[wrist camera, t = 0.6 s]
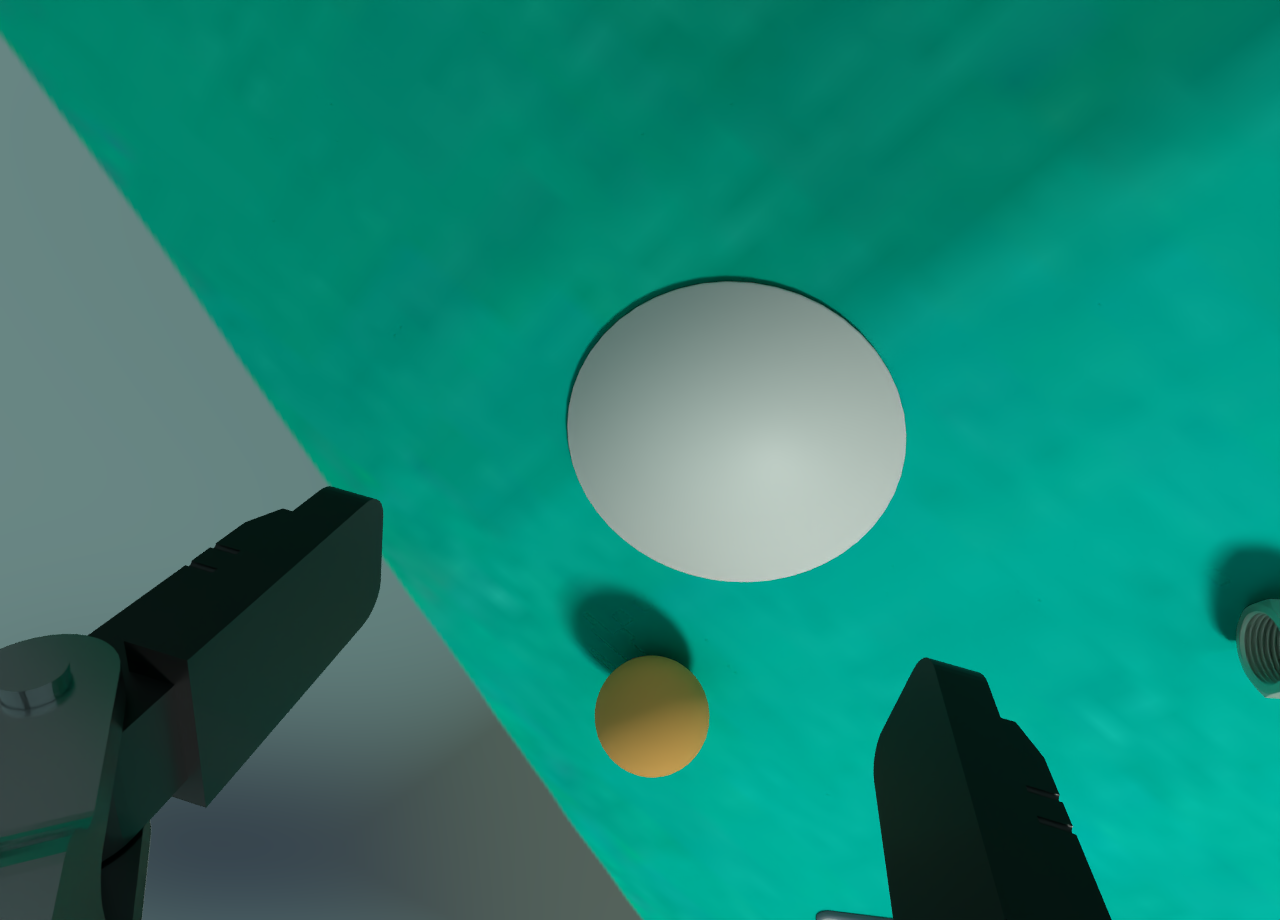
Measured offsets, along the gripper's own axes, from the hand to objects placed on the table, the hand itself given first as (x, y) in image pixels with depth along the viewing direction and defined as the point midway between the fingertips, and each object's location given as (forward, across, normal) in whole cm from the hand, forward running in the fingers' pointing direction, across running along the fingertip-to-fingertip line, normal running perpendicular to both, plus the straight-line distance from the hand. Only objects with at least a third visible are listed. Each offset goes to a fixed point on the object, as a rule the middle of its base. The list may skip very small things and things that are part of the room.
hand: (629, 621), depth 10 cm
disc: (+19, -2, +5) cm, 20 cm away
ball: (+17, -2, +20) cm, 26 cm away
